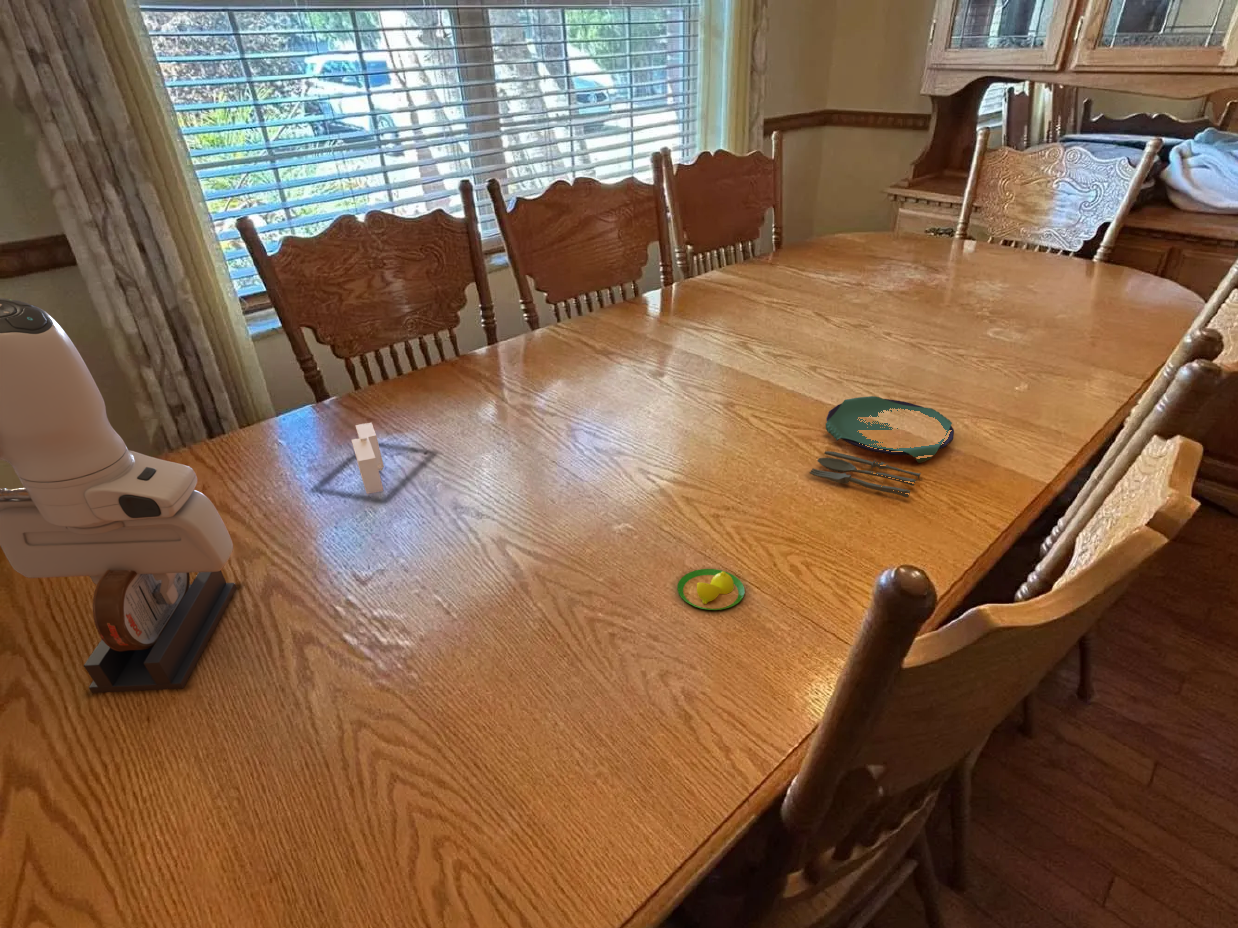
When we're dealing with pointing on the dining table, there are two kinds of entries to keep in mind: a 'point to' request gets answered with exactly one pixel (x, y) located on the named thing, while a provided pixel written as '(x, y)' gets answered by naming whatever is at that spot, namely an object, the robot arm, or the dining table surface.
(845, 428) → the cutlery set
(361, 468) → the beige double block
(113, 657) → the holder
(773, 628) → the dining table surface
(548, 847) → the dining table surface
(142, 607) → the tin
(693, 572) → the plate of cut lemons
